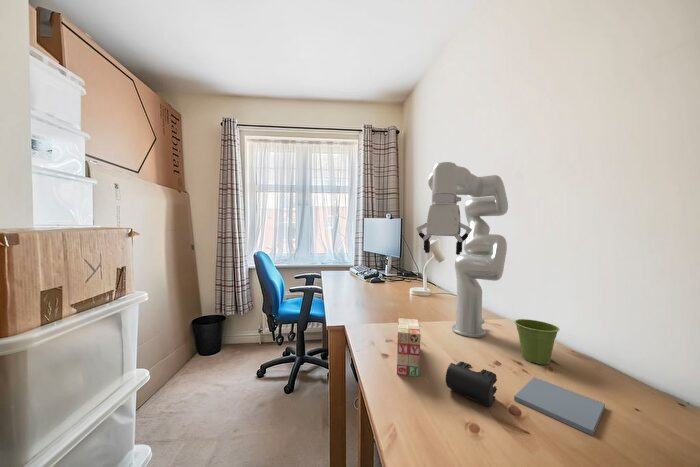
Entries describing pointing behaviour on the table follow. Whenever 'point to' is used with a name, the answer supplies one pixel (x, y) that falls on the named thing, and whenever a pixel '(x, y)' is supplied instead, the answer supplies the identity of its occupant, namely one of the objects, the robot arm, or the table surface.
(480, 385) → the end cap
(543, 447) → the table surface
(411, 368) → the stack of blocks
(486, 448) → the table surface
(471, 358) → the table surface
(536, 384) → the slate mat
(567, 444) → the table surface
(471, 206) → the robot arm
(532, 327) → the plant pot
